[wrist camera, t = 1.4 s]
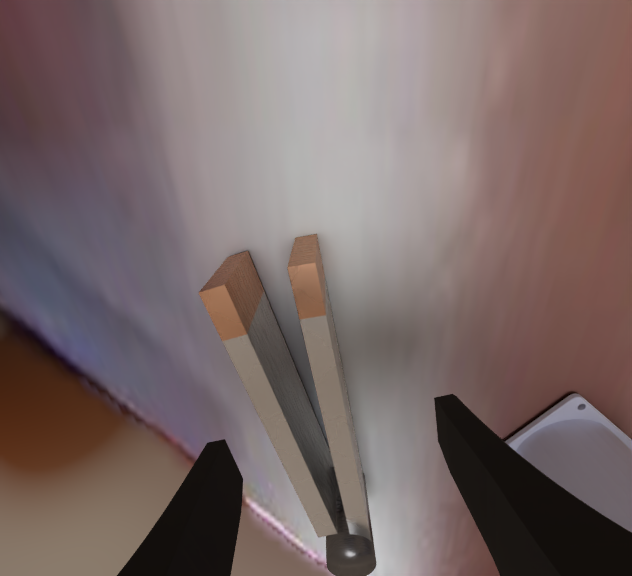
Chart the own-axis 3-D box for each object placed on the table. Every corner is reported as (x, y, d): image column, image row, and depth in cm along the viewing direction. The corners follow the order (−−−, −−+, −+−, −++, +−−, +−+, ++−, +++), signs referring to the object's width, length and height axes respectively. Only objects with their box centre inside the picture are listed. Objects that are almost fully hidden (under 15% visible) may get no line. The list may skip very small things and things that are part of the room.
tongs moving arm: (334, 462, 25) (337, 533, 21) (318, 465, 25) (318, 537, 21) (247, 250, 19) (224, 284, 14) (227, 257, 19) (198, 292, 15)
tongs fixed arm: (367, 489, 27) (378, 576, 21) (329, 494, 27) (331, 581, 22) (318, 233, 19) (317, 268, 14) (265, 243, 19) (244, 281, 14)
